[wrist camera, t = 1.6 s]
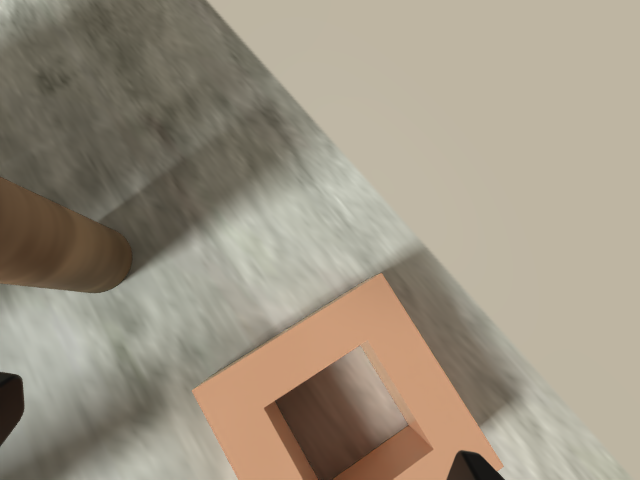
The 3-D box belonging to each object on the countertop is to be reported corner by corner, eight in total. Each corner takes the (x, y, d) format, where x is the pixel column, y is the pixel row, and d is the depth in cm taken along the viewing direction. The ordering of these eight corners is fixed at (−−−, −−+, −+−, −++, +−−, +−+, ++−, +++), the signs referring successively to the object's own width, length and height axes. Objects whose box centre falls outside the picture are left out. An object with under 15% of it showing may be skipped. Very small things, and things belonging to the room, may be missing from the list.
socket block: (306, 557, 20) (310, 615, 16) (210, 376, 22) (191, 390, 18) (466, 439, 22) (503, 466, 18) (366, 279, 23) (381, 272, 19)
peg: (80, 305, 22) (-215, 294, 9) (52, 248, 22) (-265, 162, 10) (143, 271, 23) (-50, 215, 10) (114, 216, 23) (-106, 95, 10)
